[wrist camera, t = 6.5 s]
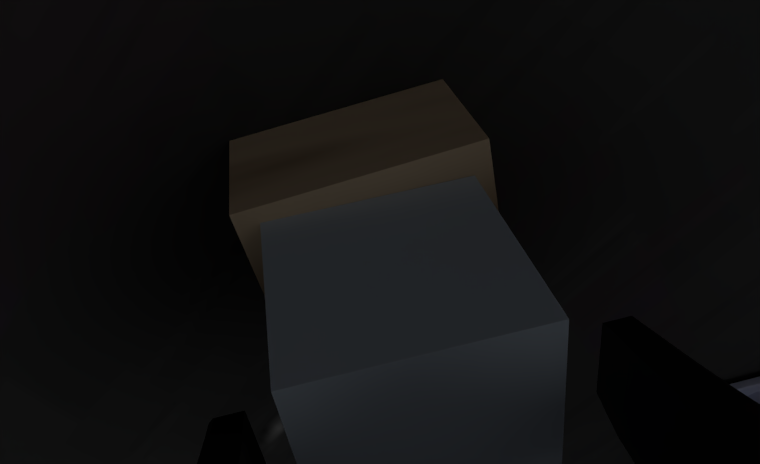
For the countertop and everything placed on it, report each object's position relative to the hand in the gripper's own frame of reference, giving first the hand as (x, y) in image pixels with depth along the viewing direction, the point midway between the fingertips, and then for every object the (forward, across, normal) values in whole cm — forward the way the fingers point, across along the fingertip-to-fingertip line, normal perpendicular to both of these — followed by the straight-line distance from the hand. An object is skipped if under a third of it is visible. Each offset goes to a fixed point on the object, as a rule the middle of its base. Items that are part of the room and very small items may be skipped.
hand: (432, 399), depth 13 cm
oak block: (+8, 0, 0) cm, 8 cm away
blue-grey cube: (+4, 0, 0) cm, 4 cm away
